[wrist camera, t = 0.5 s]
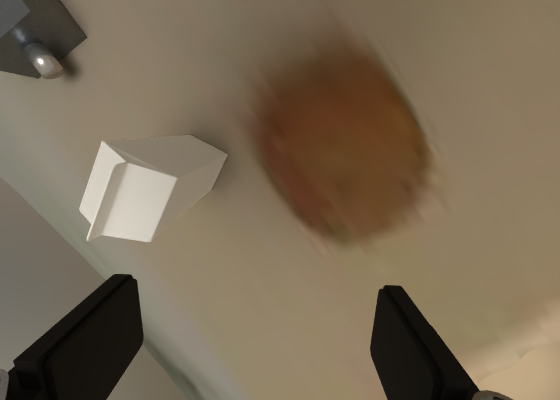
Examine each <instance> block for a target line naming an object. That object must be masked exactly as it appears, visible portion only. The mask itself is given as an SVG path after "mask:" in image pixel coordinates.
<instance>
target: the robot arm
mask: <svg viewBox="0 0 560 400" xmlns="http://www.w3.org/2000/svg"><path fill="white" fill-rule="evenodd" d="M142 343H143V328H142V319H141V310H140V302H139V293H138V285H137V280H136V279H133V277H132V275H129V274H114V275H112V276H111V277H110V278H109V279H108V280H107V281H105V282H104V283H103V284H102V285H101V286H100V287H99V288H97V289H96V290H95V291H94V292H93V293H91V294H90V295H89V296H88V297H87V298H86V299H84V300H83V301H82V302H81V303H80V304H79V305H77V306H76V307H75V308H74V309H73V310H72V311H71V312H69V313H68V314H67V315H66V316H65V317H64V318H62V319H61V320H60V321H59V322H58V323H56V324H55V325H54V326H53V327H52V328H51V329H50V330H48V331H47V332H46V333H45V334H44V335H43V336H41V337H40V338H39V339H38V340H37V341H36V342H34V343H33V344H32V345H31V346H30V347H29V348H27V349H26V350H25V351H24V352H23V353H22V354H20V355H19V356H18V357H17V358H16V359H15V360H13V362H14V365H15V367H13V368H12V369H11V370H10V371H9V372H6V371H5V370H2V369H0V400H106V399H107V398H108V396H109V395H110V393H111V392H112V390H113V389H114V387H115V386H116V384H117V383H118V381H119V379H120V378H121V376H122V375H123V373H124V372H125V370H126V369H127V367H128V366H129V364H130V363H131V361H132V360H133V358H134V357H135V355H136V354H137V352H138V351H139V349H140V347H141V345H142ZM370 352H371V357H372V360H373V362H374V365H375V368H376V370H377V373H378V375H379V378H380V381H381V383H382V386H383V389H384V391H385V394H386V397H387V399H388V400H513V399H511V398H509V397H507V396H505V395H502V394H500V393H497V392H493V391H488V390H486V391H480V390H479V389H478V387H477V386H476V385H475V383H474V382H473V381H472V379H471V378H470V377H469V375H468V374H467V373H466V371H465V370H464V369H463V367H462V366H461V365H460V363H459V362H458V361H457V359H456V358H455V356H454V355H453V354H452V352H451V351H450V350H449V348H448V347H447V346H446V344H445V343H444V342H443V340H442V339H441V338H440V336H439V335H438V334H437V332H436V331H435V329H434V328H433V327H432V326H431V325H430V324H429V323H428V322H427V320H426V319H425V318H424V316H423V315H422V313H421V312H420V311H419V309H418V308H417V307H416V305H415V304H414V303H413V301H412V300H411V298H410V297H409V296H408V294H407V293H406V292H405V290H404V289H403V288H402V287H401V286H394V285H385V286H384V287H383V289H380V290H379V292H378V299H377V305H376V312H375V318H374V325H373V332H372V338H371V345H370Z"/></svg>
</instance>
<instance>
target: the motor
mask: <svg viewBox="0 0 560 400" xmlns="http://www.w3.org/2000/svg"><path fill="white" fill-rule="evenodd" d="M86 38H87V36H86V35H85V34H84V32H83V31H82V30H81V28H80V27H79V26H78V24H77V23H76V21H75V20H74V19H73V17H72V16H71V15H70V13H69V12H68V11H67V9H66V8H65V6H64V5H63V4H62V2H61V1H60V0H0V71H4V72H9V73H14V74H19V75H24V76H29V77H34V78H39V77H40V76H42V77H43V78H45V79H54V78H57V77H59V76H60V75H62V74H63V72H64V69H63V68H62V66H61V65H60V64H59V62H58V61H59V60H61V59H62V58H63V57H64V56H65V55H67V54H68V53H69V52H70V51H71V50H73V49H74V48H75V47H76V46H77V45H78V44H80V43H81V42H82V41H83V40H84V39H86Z"/></svg>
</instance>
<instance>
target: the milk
mask: <svg viewBox="0 0 560 400" xmlns="http://www.w3.org/2000/svg"><path fill="white" fill-rule="evenodd" d="M227 156H228V154H227V153H225V152H223V151H221V150H219V149H217V148H215V147H213V146H211V145H209V144H207V143H205V142H203V141H201V140H199V139H198V138H196V137H194V136H192V135H179V136H165V137H150V138H136V139H122V140H107V141H102V142H101V145H100V148H99V151H98V154H97V157H96V160H95V163H94V166H93V169H92V172H91V175H90V178H89V181H88V184H87V187H86V190H85V193H84V196H83V199H82V202H81V205H80V208H79V210H80V211H81V213H82V214H83V215H84V216H85V217H86V219H87V220H88V221H89V222H90V223H91V224H92V225H91V228H90V230H89V233H88V236H87V241H91V240H93V239H95V238H97V237H98V236H100V235H105V236H112V237H118V238H125V239H131V240H137V241H144V242H151V241H152V240H153V239H154V238H156V237H157V236H158V235H159V234H160V233H162V232H163V231H164V230H165V229H166V228H167V227H169V226H170V225H171V224H172V223H173V222H174V221H176V220H177V219H178V218H179V217H180V216H182V215H183V214H184V213H185V212H186V211H187V210H189V209H190V208H191V207H192V206H193V205H195V204H196V203H197V202H198V201H199V200H200V199H202V198H203V197H204V196H205V195H206V194H207V193H209V192H210V191H211V190H212V188H213V186H214V184H215V182H216V180H217V177H218V175H219V173H220V171H221V169H222V167H223V164H224V162H225V160H226V158H227Z"/></svg>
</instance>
